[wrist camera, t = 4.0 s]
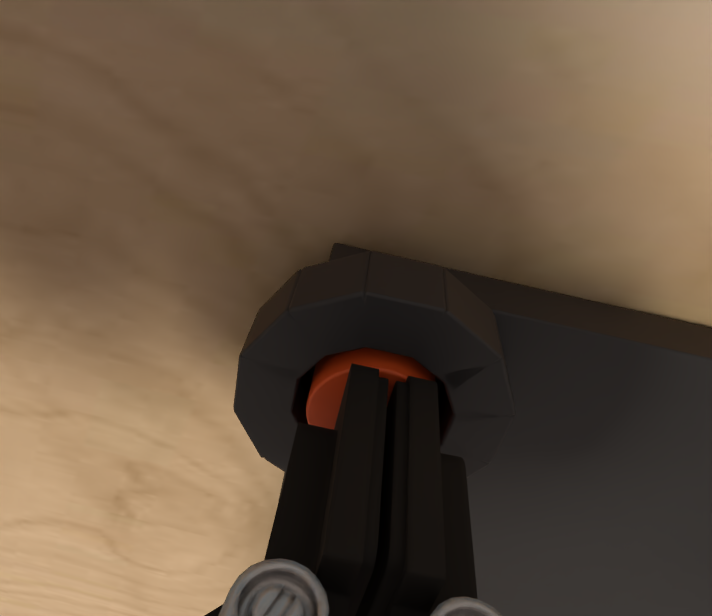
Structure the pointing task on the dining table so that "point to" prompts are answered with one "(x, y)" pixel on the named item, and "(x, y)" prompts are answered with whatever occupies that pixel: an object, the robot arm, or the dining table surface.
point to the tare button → (335, 373)
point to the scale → (522, 424)
